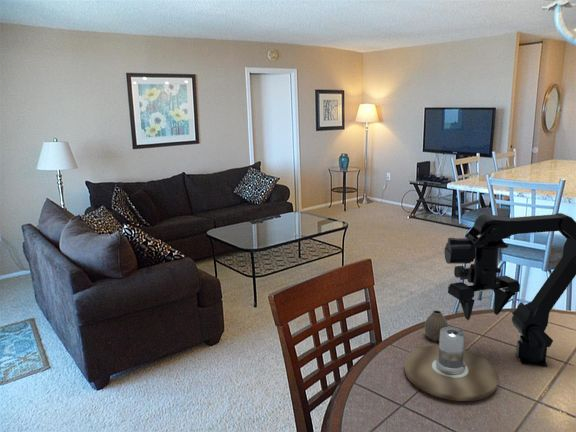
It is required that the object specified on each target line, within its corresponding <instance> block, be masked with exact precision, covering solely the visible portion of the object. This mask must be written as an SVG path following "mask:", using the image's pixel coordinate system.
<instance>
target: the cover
mask: <svg viewBox="0 0 576 432" xmlns="http://www.w3.org/2000/svg"><path fill="white" fill-rule="evenodd" d="M465 337H466V333H465V331H464V330H462V329H461V328H457V327H454V326H448V327H444V328H442V329H441V330H440V341H438V342H439V345H438V346H439V357H437V359H436V367H437V369H438V370H439V371H441V372H443V373H445V374H449V375H460V374H462V373H464V372H465V362H464V361H463V355H464V350H465Z"/></svg>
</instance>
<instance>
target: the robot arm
mask: <svg viewBox="0 0 576 432" xmlns="http://www.w3.org/2000/svg"><path fill="white" fill-rule="evenodd" d="M550 232H559V233H560V235H562V236H563V237H564V238H565V239H566V240H565V242H564V245H563V247H562V257H561V258H560V260H559V261H558V263H557V264H556V266H555V267H554V269H553V270H552V272H551V273H550V274H549V276H548V277H547V279H546V280H545V281H544V283H543V284H542V286H541V288H540V289H539V290H538V291H537V293H536V294H535V296H534V297H533V299H532V300H531V301H530V302H528V303H525V304H524V303H523V302H521V301H520V302H519V304H518V305H517V307H516V309H515V310H514V311H512V313H511V314H512V317H511V322H512V325H513V326H514V328H515V329H516V330H517V332H518V333H520V335H519V340H517V341H516V350H515V353H516V356H517V358H518V360H519V362H520V364H521V365H529V366H538V367H545V368H546V367H548V362H547V354H548V348H550V347H551V346H552V344H553V342H554V339H552V338H551V336H549V335H548V334H547V332H546V329H547V327H548V325H549V320H550V319H549V318H550V312H551V310H552V309H553V308H554V307H555V306H556V304H557V302H558V301H559V300H560V298H561V296H562V295H563V294H564V293H565V291H566V290H567V288H568V287H569V286H570V285H571V284H572V283H571V282H572V281H573V280H574V279H575V277H576V221H575V219H574V218H573V217H571V216H569V215H567V214H564V213H562V212H557V213H555V214H545V215H544V214H543V215H540V214H539V215H531V216H530V215H528V216H515V217H508V216H502V215H496V214H494V215H493V214H482V215H479V216H478V217H477V218H476V219H475V221H474V223H473V226H472V227H471V228H470V229H469V231H468V232H467V233H466V234H465V235H464V237H465V238H464V237H463V238H462V237H460V238H458V237H457V238H455V237H448V238H447V242H446V245H445V247H444V252H443V253H444V259H445V263H446V264H448V265H450V264H452V265H454V264H459V265H456V266H454V270H453V273H454V277H455V278H457V279H458V278H459V279H460V281H461V282H460V281H459V282H453V283H450V284H449V285H448V288H447V294H449V295H450V296H452V297H454V298H455V299H456V300H458V301H459V303H460V306H461V308H462V311H463V315H464V318H465V319H466V320H467V321H470V318H471V317H472V313H473V308H474V304H475V299H474V297H475V293H479V292H486V291H493V294H494V301H493V302H494V303H493V313H494V315H496V316H498V315H499V314H500V313H501V312H502V310H503V309H504V308H505V306H506V305H507V303H508V302H509V301H510V300H511V299H512V297H513V296H516V294H517V293H519V292H520V290H521V284H520V282H519V280H516V279H514V278H512V277H510V276H509V275H501V276H498V274H499V273H501V270H502V269H501V268H500V267H498V265H499V255H500V254H499V253H500V249H507V248H509V245H508V244H506V243H505V241H504V240H505V239H508V238H509V237H511V236H512V237H513V236H515V235H521V234H535V233H550ZM478 236H479V237H478ZM460 264H466V265H468V264H470V266H469V267H464V265H460ZM463 280H467V282H468V283H469V284H472V285H468V284H466V283H464V282H463Z"/></svg>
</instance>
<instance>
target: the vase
mask: <svg viewBox="0 0 576 432" xmlns="http://www.w3.org/2000/svg"><path fill="white" fill-rule="evenodd" d="M444 327H449V323H448V320H447V319H446V318H445V315H443V313H442V311H440V310H439V309H438V310H436V309H434V310H433V311H432V313H431V314H430V315H429V316H428V317H427V318H426V320H425V322H424V332H425V335H426V337H427V338H428V339H430V340H431V341H433V342H439V341H440V330H441V329H442V328H444Z"/></svg>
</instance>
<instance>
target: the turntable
mask: <svg viewBox="0 0 576 432" xmlns="http://www.w3.org/2000/svg"><path fill="white" fill-rule="evenodd" d="M437 357H439V345H429V346H428V345H426V346H423V347H420V348H415V349H413V350H412V351H411V352H409V353H408V354H407V355H406V357H405V360H404V372H405V375H406V377H407V379H408V380H409V381H410V383H412V384H413V385H414V386H415V387H416V388H418V389H419V390H421V391H423V392H425V393H427V394H429V395H432V396H434V397H437V398H440V399H446V400H450V401H457V402H459V401H460V402H469V401H471V402H473V401H478V400H482V399H485V398H487V397H490V396H491V395H493V393H495V391H496V390H497V388H498V385H499V374H498V371H497V369H496V367H495V366H493V364H492V363H491V362H489V360H487V359H486V358H484V357H483V356H481V355H479V354H477V353H475V352H473V351H471V350H467V349H464V355H463V361H464V362H465V372H464V373H462V374H460V375H449V374H445V373H443V372H441V371H439V370H438V369H437V367H436V359H437Z"/></svg>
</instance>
